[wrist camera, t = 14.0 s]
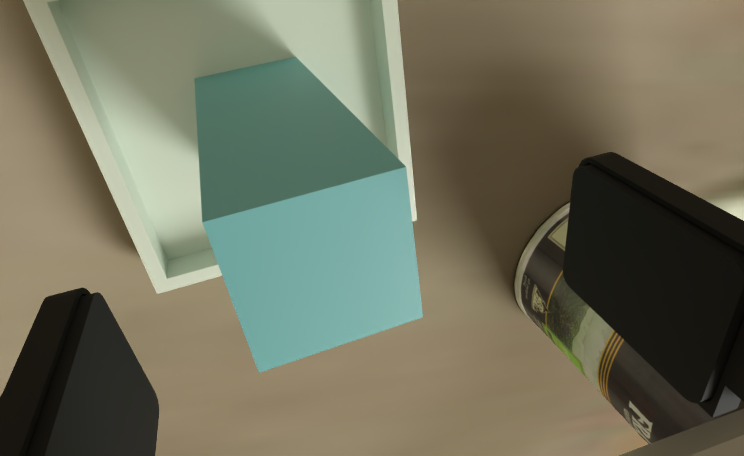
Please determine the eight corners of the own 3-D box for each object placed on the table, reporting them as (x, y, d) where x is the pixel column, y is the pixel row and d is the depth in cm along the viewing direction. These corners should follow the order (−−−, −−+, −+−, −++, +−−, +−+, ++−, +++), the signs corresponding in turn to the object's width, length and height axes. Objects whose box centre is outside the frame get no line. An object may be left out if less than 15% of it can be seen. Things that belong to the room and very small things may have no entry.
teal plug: (295, 56, 20) (405, 166, 10) (315, 149, 22) (423, 317, 12) (194, 78, 19) (202, 222, 9) (224, 172, 21) (258, 372, 11)
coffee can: (567, 342, 36) (751, 533, 24) (482, 286, 30) (667, 498, 19) (673, 235, 34) (930, 387, 22) (602, 155, 28) (893, 300, 17)
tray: (370, -71, 19) (390, -73, 17) (399, 199, 25) (416, 220, 23) (34, -20, 17) (15, -17, 15) (159, 265, 23) (157, 293, 21)
